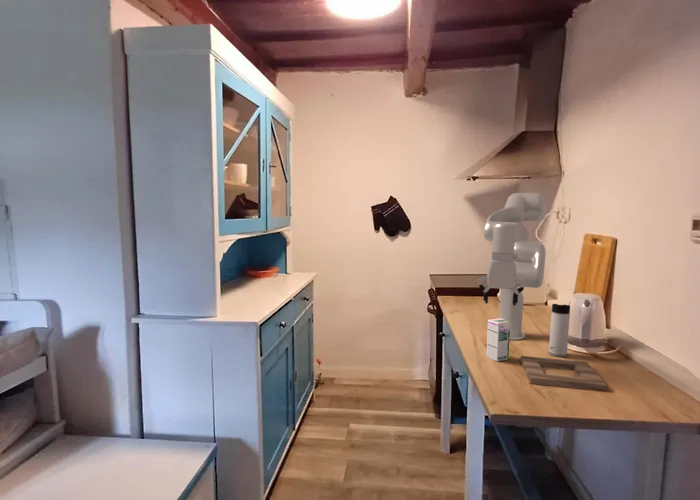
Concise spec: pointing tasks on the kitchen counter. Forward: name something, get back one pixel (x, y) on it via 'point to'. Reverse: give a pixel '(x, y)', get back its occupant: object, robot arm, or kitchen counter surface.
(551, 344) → the travel mug
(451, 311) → the kitchen counter surface
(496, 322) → the syrup box
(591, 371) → the hole board
